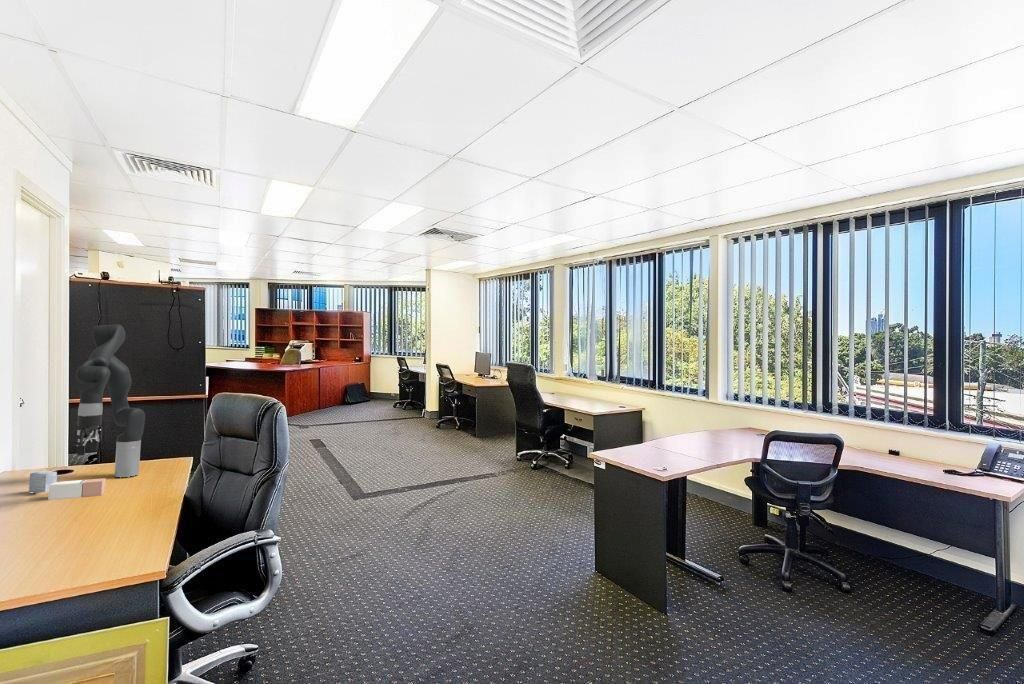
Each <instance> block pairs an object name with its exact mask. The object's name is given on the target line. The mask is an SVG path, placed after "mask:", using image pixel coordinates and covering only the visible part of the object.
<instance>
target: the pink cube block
mask: <svg viewBox="0 0 1024 684" xmlns="http://www.w3.org/2000/svg"><path fill="white" fill-rule="evenodd" d="M106 482H107V479H106V478H103V477H102V478H94V479H93V478H92V479H86V481H85V482H84V483H83V493H82V497H81V498H85V497H97V496H98V497H99V496H103V495H104V494H105V492H106Z"/></svg>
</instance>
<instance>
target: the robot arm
mask: <svg viewBox="0 0 1024 684" xmlns="http://www.w3.org/2000/svg"><path fill="white" fill-rule="evenodd" d="M91 333H92V339H93V343H94V344H95V349H94V350H93V351H92V352H91V353H90V355H89V357H88V359H87V360H86V361H85V362H83V364H81V365H79V367H78V368H77V369H76V371H75V379H76V381H78V382H79V383H80V384H81V383H83V384H96V386H94V387H90V388H84V389H82V390H80V395H79V404H78V409H77V421H76V424H77V426H78V427H81V428H80V429H76V430H74V437H73V446H76V447H77V449H76V450H77V453H76V455H77V456H79V457H80V456H84V455H85V454H86V444H87V442H88V441H90V453H91V452H98V449H99V443H100V441H102V440H103V428H104V427H103V426H102V424H103V410H104V409H103V408H104V406H103V400H104V392H105V388H106V386H107V389H108V393H109V397H110V402H111V412H112V418H113V421H114V423H115V424H116V425H117V426H119V427H123V428H124V427H125V430H124V432H123V433H120V434H118V435H117V437H116V445H115V446H116V448H115V461H114V462H115V463H114V474H113V475H114V476H115V477H120V478H119V479H122V478H121V477H128V478H131V477H130V476H134V477H136V476H135V475H137V476H139V475H138V474H140V464H141V463H140V462H141V461H140V460H141V459H140V458H141V447H142V446H141V444H142V436H143V434H144V431H145V421H146V414H145V411H144V410H143V409H141V408H137V407H135V408H134V407H130V405H129V401H128V400H129V399H128V394H129V391H130V389H131V386H132V377H131V376H132V375H131V372H130V369H129V367H128V366H127V365H126V364H125V363H123V362H122V361H121V360H120V359H118V358H117V356H115V353H116V352H117V351H118V350H119V349H120V347H121V346H122V345H123V344H124V342H125V339H126V331H125V328H124V327H123V326H122V325H121V324H105V325H104V324H103V325H95V326H93V328H92V330H91ZM115 477H114V478H115Z"/></svg>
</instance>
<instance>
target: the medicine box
mask: <svg viewBox="0 0 1024 684" xmlns="http://www.w3.org/2000/svg"><path fill="white" fill-rule="evenodd" d="M57 477H58V471H51V470H49V471H48V470H40V471H39V470H38V471H35V472H34V471H33V472H31V473H30V475H29V483H28V484H29V485H28V486H29V487H28V488H29V489H28V493H29V492H33V493H38V494H39V493H41V492H42V493H46V492H49V485H50V484H52V483H54V482H58V478H57Z"/></svg>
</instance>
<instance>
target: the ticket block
mask: <svg viewBox="0 0 1024 684" xmlns="http://www.w3.org/2000/svg"><path fill="white" fill-rule="evenodd" d="M86 480H87V479H78V480H64V481H57V482H54V483H52V484H50V485H49V491H48V495H47V497H48V498H47V500H48V501H53V500H64V499H74V498H83V497H82V493H83V483H84V482H85V481H86Z"/></svg>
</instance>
